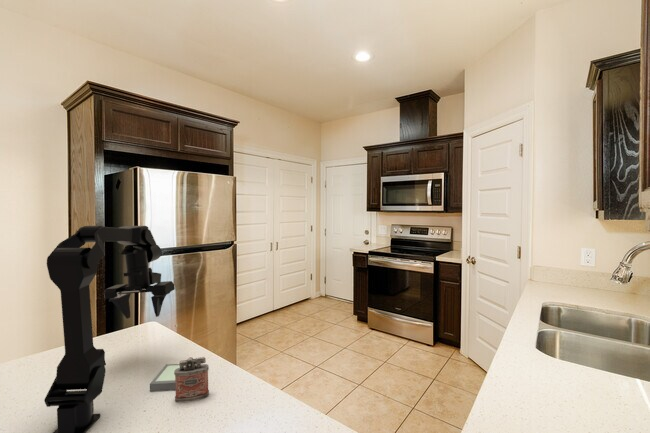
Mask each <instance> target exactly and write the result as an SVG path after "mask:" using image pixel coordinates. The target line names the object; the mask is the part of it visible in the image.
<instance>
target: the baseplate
mask: <svg viewBox="0 0 650 433" xmlns="http://www.w3.org/2000/svg"><path fill="white" fill-rule="evenodd" d="M196 365H197V364H196ZM184 367H185V366H184ZM177 368H180V366H179V363H173V364H172V363H169V364H168V363H167V364H165V365H164V366H163V367H162V369H161V370H160V371H159V372H158V373H157V374H156V376H155V377H154V378H153V379H152V381H151V382H150V383H149V392H165V391H176V388H175V375H174V371H175V370H176V369H177Z"/></svg>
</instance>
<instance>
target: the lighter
mask: <svg viewBox="0 0 650 433" xmlns="http://www.w3.org/2000/svg"><path fill="white" fill-rule="evenodd" d="M206 359H207V358H206V357H205V356H202V357H195V358H194V357H188V358H187V359H183V360H179V363H178V364H179V366H180V368H177V369H176V370H175V371H174V375H175V388H176V390H175V396H174V401H175V403H186V402H187V403H189V402H194V401H199V400H202V399H203V400H204V399H206V398H208V397H209V395H210V390H209V368H210V367H209V364H207V363H206ZM196 364H197V365H196ZM184 366H185V367H184Z"/></svg>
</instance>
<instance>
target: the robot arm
mask: <svg viewBox="0 0 650 433" xmlns="http://www.w3.org/2000/svg"><path fill="white" fill-rule="evenodd" d="M106 242H117V244H120V245H123V246H125V247H124V248H123V249H122V251H121V252H120V256H124V261H125V262H124V263H125V270H126V272H123V277H127V278H126V279H127V283H126V284H123V283H122V284H115V285H113V286H110V287H108V288H106V289H105V290H104V292H103V295H104V296H103V297H104V299H105V300H107V299H108V302H112V303H113V305H115V306H116V307H117V308H118V310H119V311H120V313H121V314H123V316H124V317H125V318H126V319H127V320H128V319H130V318H131V306H130V298H131V295H132V294H139V293H141V294H142V293H151V294H152V296H151V297H150V299H151V302H152V307H153V311H154V314H155V317H156V318H157V317H159V316H160V314H161V311H162V307H163V303H164V300H165V298H166V296H167V295H169V294H170V293H171V292H172V291H174V290H176V289H175V288H176V287H175V284H174V282H173V281H172V280H167V281H162V273H160V272H159V273H158V272H154V271H153V268H152V267H149V263H151V262H154V261H156V260H158V259H160V258H161V256H162V254H163V252H162V249H161V247H160V246H159V245H158V244H157V242H156V240H155V237H154V236H153V233H152V231H151V229H149V227H148V226H147V225H124V226H119V227H113V226H112V227H111V226H109V227H108V226H104V225H84V226H81V227H79V228H78V229H77V231H76V232H75V233H74V234H73V235H71V236H69V237H66V238H65V239H64V240H61V241H60V242H59V243H58V245H56V247H55V248H53V250H52V251H51V253H50V254H49V255H48V256H47V258H46V267H47V272H48V276H49V277H48V278H49V279H50V280H51V281H52V283H53V284H54V285H55V286H56V287H57V289H59V291H60V302H61V303H60V304H61V314H62V318H61V319H62V327H63V328H62V330H63V344H64V355H63V357H62V358H61V360H60V361H59V363H58V365H57V367H56V373H55V374H56V376H55V378H54V380H53V382H52V384H51V386H50V388H49V390H48V392H47V393H46V395H45V397H44V399H43V401H44V404H45V405H46V407H47V408H51V407H57V408H56V418H57V419H56V420H57V423H56V424H57V427H56V429H55V430H54V431H53V432H52V433H86V432H87V431H89V430H90V428H91V427H92V426H93V425H94V424H95V422H97V420H98V419H99V418H100V417H101V413H94V412H95V411H94V400H96V398H97V397H99V396H100V395H101V394H102V392H103V388H104V382H105V377H106V367H105V366H106V365H107V362H106V359H105V357H106V356H105V355H106V351H105V350H104V348H96V347H95V346H94V337H93V335H94V334H93V321H92V320H93V319H92V309H91V308H92V306H91V293H90V292H91V291H90V284H91V283H92V281H93V280H94V278H95V276H97V273H98V264H99V263H100V261H101V259H102V258H103V256H104V255H105V253H106V251H105V247H104V244H105V243H106ZM86 243H94V245H93V246H92V247H83V246H84V245H85V244H86Z"/></svg>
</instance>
